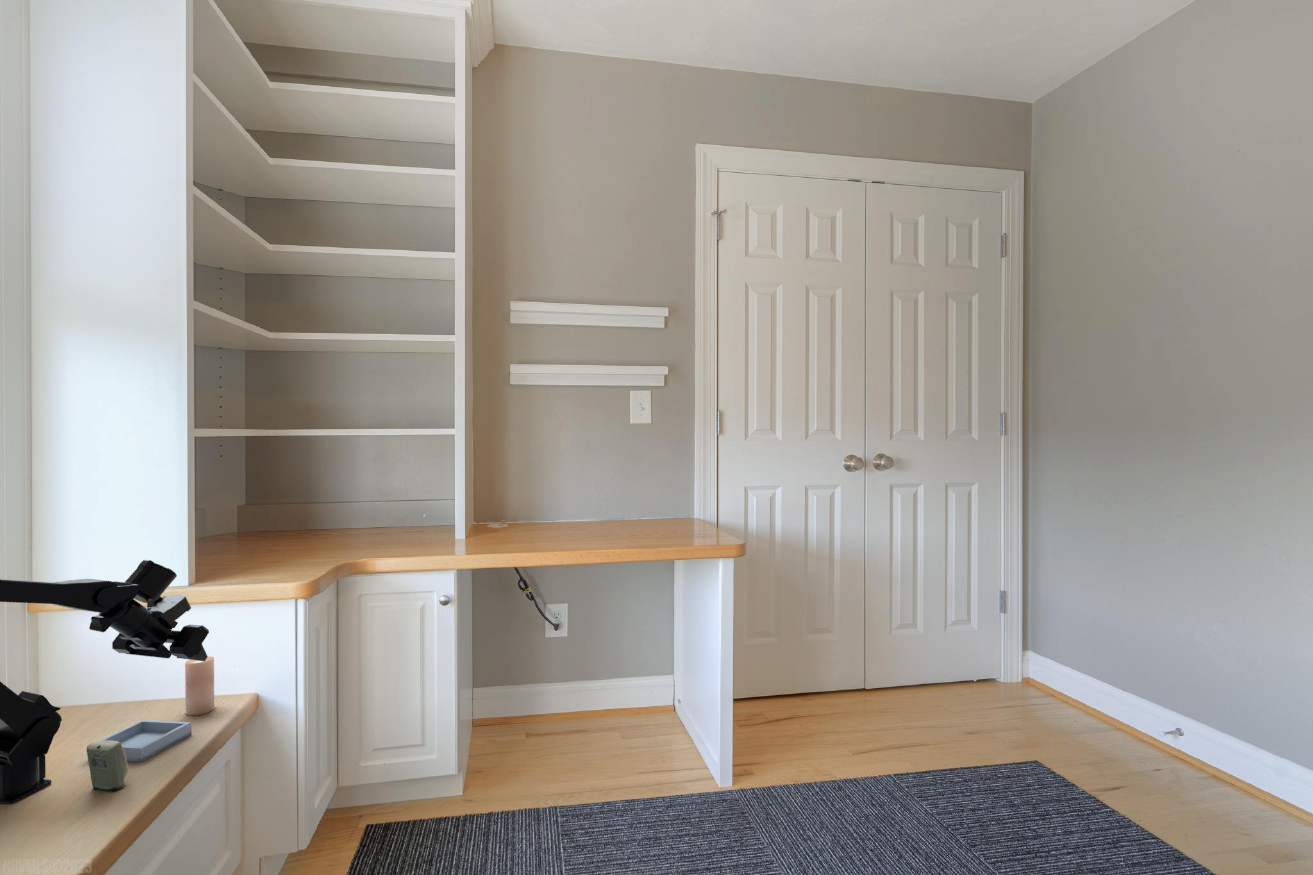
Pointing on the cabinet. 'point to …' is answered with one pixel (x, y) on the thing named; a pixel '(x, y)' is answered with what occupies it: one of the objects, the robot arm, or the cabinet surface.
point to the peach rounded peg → (199, 686)
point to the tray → (149, 737)
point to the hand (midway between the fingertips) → (187, 657)
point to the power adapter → (107, 765)
